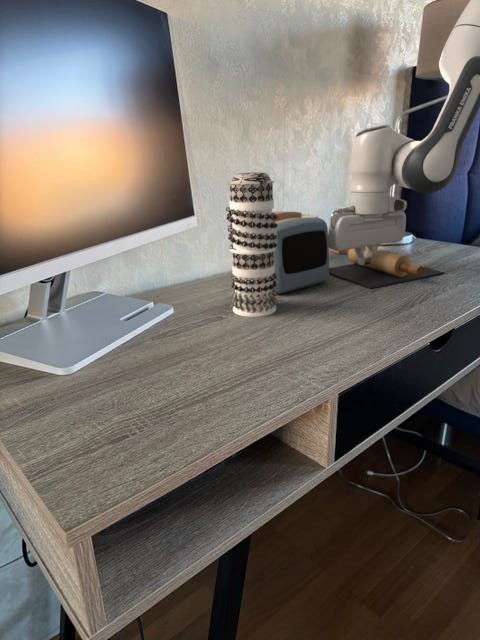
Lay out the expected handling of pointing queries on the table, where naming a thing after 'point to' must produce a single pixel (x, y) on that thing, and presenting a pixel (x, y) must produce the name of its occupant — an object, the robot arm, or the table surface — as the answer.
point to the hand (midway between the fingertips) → (365, 264)
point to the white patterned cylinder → (252, 244)
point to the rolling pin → (387, 262)
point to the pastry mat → (375, 276)
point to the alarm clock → (299, 251)
